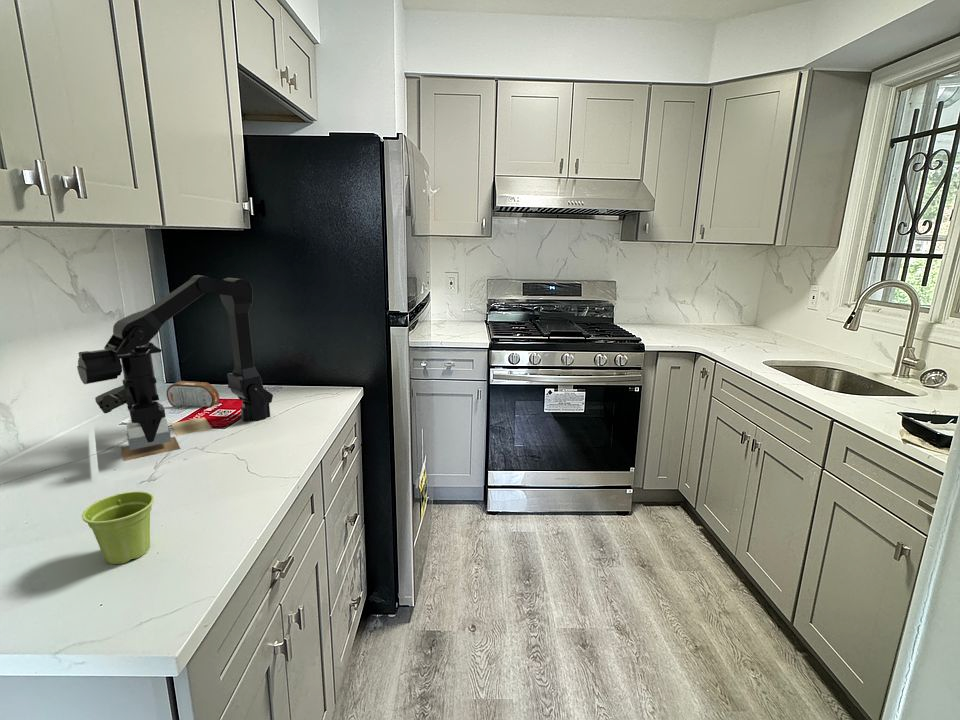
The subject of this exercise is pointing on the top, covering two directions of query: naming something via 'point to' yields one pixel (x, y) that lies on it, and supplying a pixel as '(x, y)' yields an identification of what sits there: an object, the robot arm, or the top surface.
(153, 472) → the top surface
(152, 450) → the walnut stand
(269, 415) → the robot arm
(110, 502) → the plant pot
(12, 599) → the top surface
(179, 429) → the oak stand
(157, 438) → the block
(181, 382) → the tin
